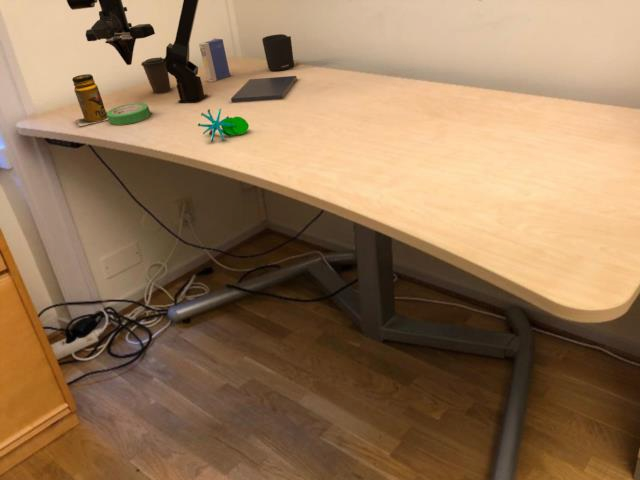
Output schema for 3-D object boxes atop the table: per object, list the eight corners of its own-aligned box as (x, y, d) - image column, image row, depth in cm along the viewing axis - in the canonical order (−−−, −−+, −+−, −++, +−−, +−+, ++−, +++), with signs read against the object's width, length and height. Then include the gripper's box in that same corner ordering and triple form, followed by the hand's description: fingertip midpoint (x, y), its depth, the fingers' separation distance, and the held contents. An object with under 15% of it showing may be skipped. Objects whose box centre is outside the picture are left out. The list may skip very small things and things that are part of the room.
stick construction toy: (202, 137, 135) (198, 105, 135) (195, 148, 141) (191, 117, 141) (252, 139, 140) (248, 108, 141) (243, 150, 146) (239, 120, 147)
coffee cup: (180, 88, 187) (172, 56, 182) (160, 95, 181) (151, 62, 176) (163, 87, 191) (154, 55, 186) (143, 94, 185) (134, 61, 180)
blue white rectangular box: (225, 75, 197) (216, 37, 191) (230, 75, 196) (222, 38, 189) (206, 81, 192) (197, 42, 186) (211, 81, 191) (203, 43, 184)
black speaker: (264, 72, 195) (258, 41, 190) (272, 65, 203) (267, 35, 197) (291, 70, 193) (286, 39, 188) (298, 64, 201) (293, 33, 196)
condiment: (111, 119, 164) (97, 75, 158) (80, 126, 160) (64, 82, 154) (105, 114, 169) (91, 71, 163) (75, 121, 166) (59, 78, 159)
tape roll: (118, 127, 156) (115, 118, 155) (103, 120, 164) (100, 111, 162) (157, 116, 162) (154, 106, 160) (141, 110, 169) (138, 100, 168)
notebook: (297, 79, 182) (296, 75, 182) (282, 99, 165) (282, 94, 164) (250, 83, 184) (249, 79, 184) (231, 102, 167) (230, 98, 166)
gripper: (63, 12, 154) (83, 73, 162) (122, 8, 149) (141, 71, 157) (90, 5, 163) (108, 63, 171) (147, 1, 158) (163, 60, 166)
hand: (129, 64), depth 166 cm, fingers closed
